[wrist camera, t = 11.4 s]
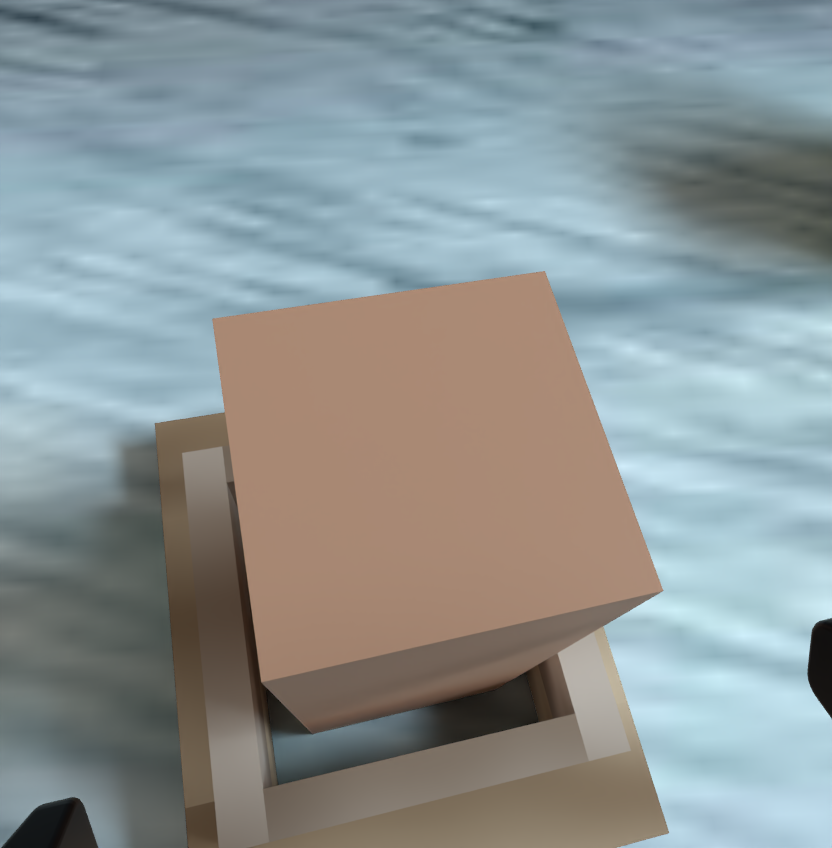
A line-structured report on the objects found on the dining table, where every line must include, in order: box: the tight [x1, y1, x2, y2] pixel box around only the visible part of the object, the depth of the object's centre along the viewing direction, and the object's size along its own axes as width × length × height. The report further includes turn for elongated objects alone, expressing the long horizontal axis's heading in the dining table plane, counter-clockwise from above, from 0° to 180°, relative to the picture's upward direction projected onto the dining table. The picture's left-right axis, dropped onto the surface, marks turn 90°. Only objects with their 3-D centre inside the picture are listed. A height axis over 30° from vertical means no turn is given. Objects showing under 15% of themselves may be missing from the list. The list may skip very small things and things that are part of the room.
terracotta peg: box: [213, 271, 663, 734], centre depth 15 cm, size 5×5×12 cm
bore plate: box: [155, 413, 669, 848], centre depth 19 cm, size 13×11×4 cm
